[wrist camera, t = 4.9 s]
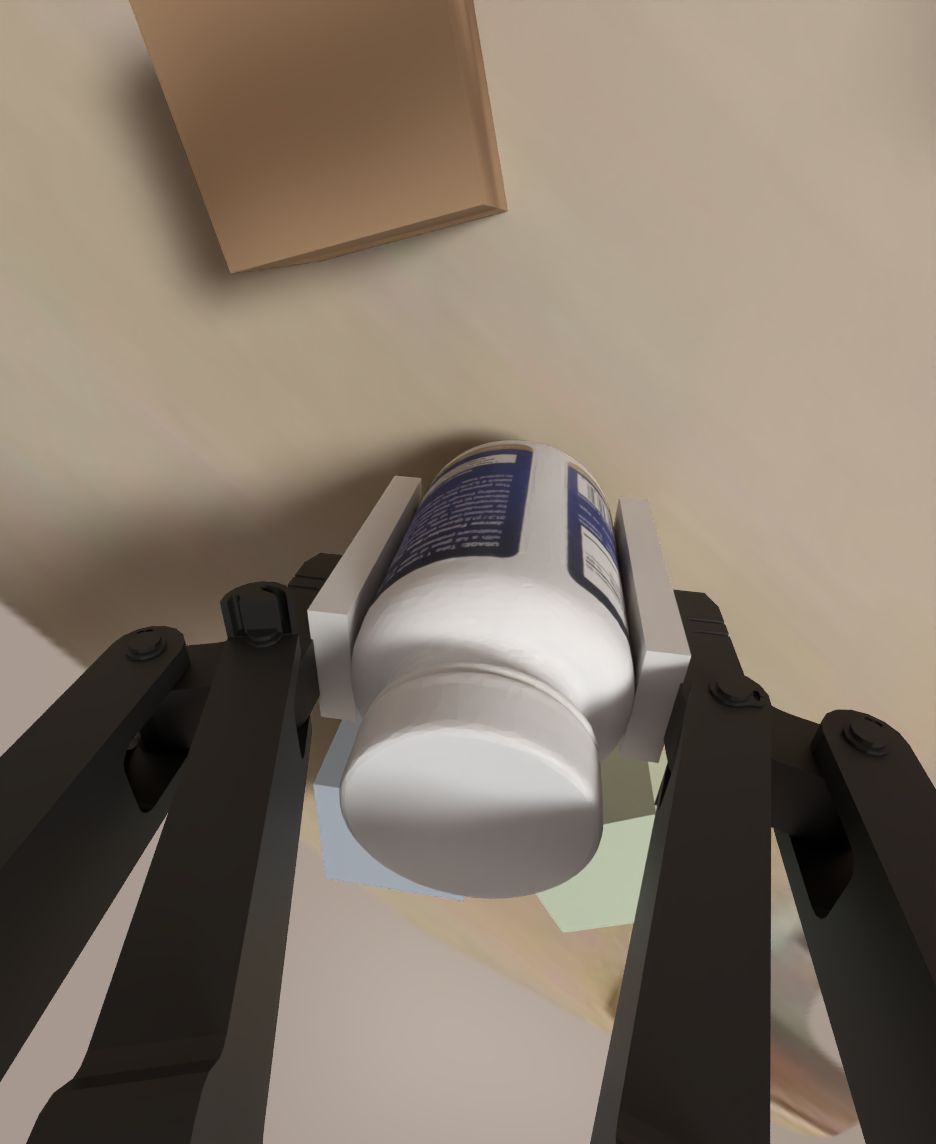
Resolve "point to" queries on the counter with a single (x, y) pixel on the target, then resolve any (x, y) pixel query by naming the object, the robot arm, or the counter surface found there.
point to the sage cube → (612, 850)
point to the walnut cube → (327, 120)
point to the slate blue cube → (336, 839)
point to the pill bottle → (492, 679)
